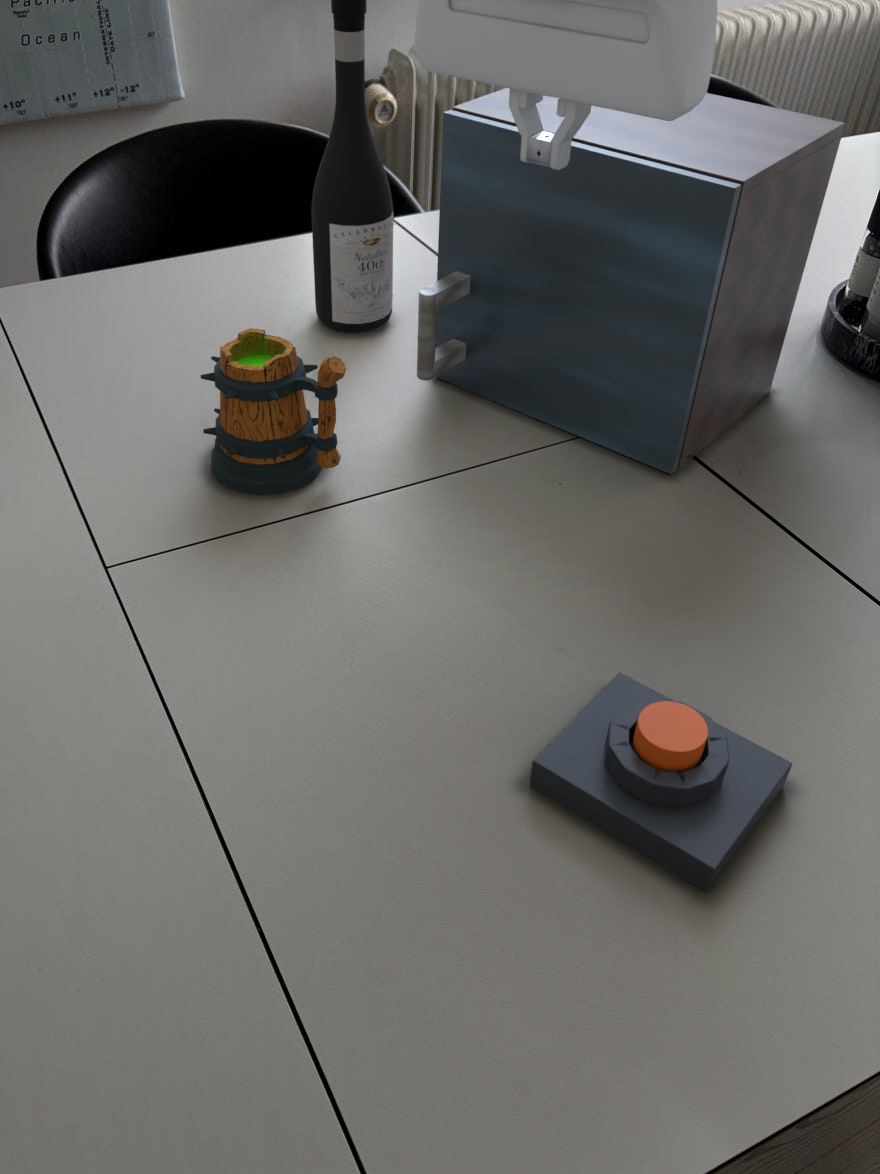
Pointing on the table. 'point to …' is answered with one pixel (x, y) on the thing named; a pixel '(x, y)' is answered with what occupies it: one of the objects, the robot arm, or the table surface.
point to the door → (574, 286)
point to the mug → (271, 415)
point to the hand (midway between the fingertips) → (544, 164)
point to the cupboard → (759, 233)
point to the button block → (660, 784)
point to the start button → (670, 736)
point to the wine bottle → (352, 197)
